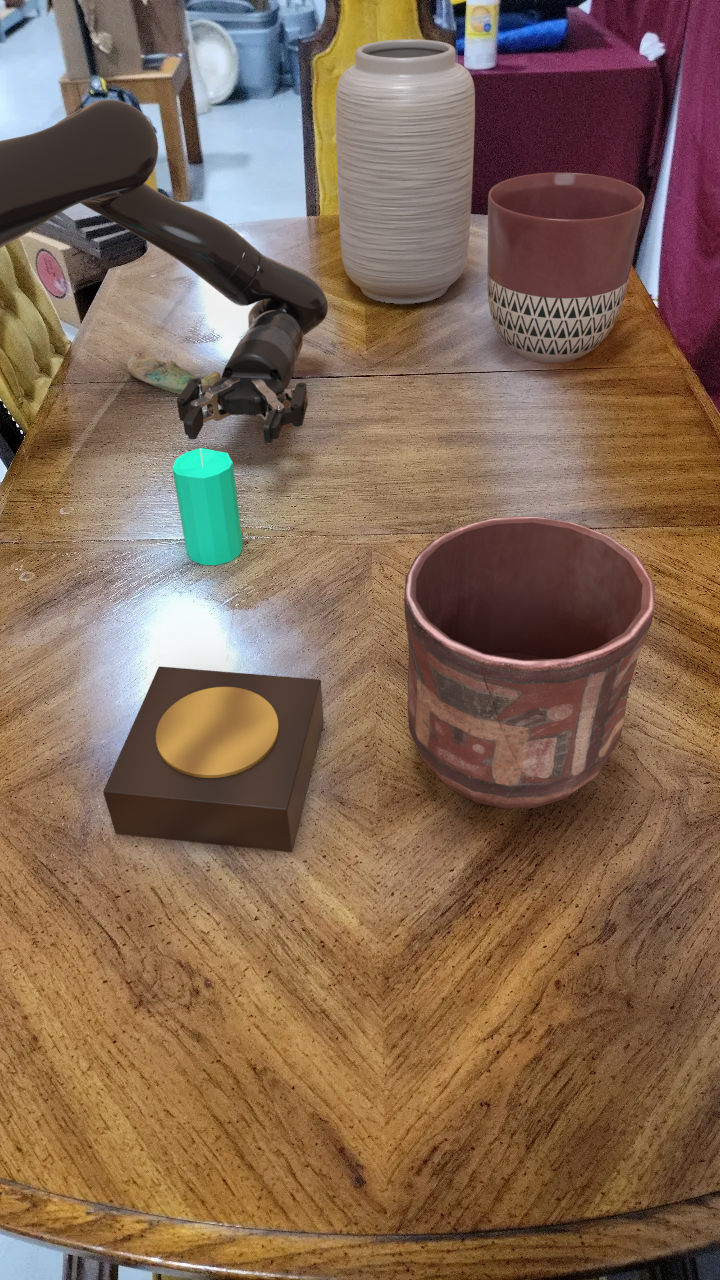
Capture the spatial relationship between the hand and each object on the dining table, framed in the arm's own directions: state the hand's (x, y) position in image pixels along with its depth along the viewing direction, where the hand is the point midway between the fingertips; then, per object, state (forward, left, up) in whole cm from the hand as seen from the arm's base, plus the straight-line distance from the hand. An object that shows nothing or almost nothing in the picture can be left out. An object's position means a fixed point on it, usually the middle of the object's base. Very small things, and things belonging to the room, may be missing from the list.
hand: (228, 433), depth 107 cm
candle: (0, -10, -8) cm, 13 cm away
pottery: (+32, -36, -8) cm, 49 cm away
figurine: (-15, +26, -8) cm, 31 cm away
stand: (+9, -41, -8) cm, 43 cm away
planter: (+35, +41, -8) cm, 55 cm away
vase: (+12, +64, -8) cm, 66 cm away
